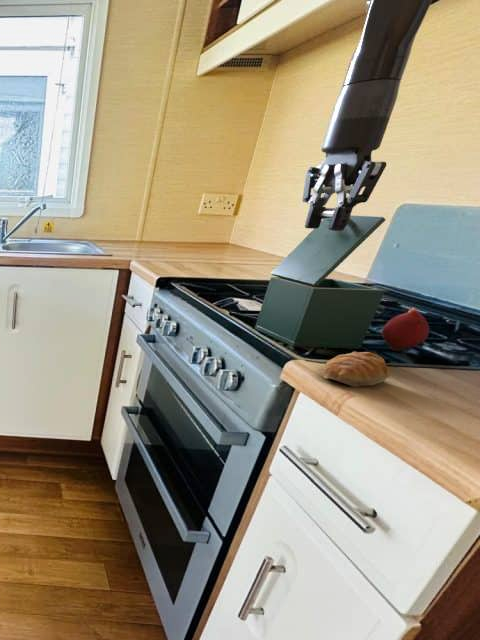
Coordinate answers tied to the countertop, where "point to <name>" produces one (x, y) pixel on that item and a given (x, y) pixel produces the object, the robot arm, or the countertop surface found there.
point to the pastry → (357, 369)
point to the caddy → (318, 313)
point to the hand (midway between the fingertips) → (323, 228)
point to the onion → (405, 330)
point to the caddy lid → (325, 248)
